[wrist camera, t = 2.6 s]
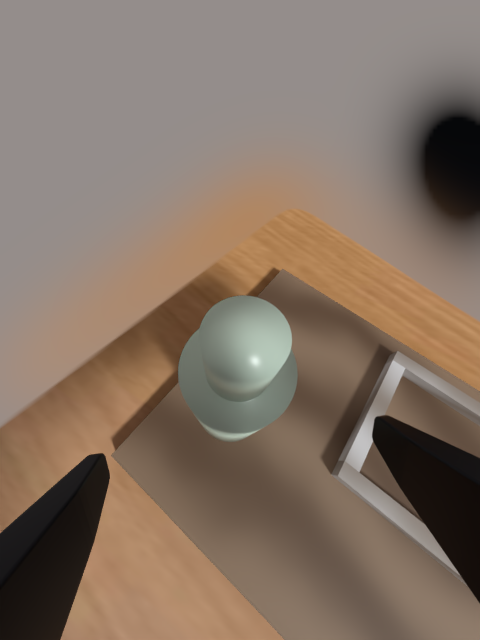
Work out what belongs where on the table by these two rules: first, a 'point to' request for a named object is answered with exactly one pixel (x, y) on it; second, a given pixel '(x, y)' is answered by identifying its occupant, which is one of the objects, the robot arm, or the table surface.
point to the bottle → (239, 368)
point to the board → (320, 485)
